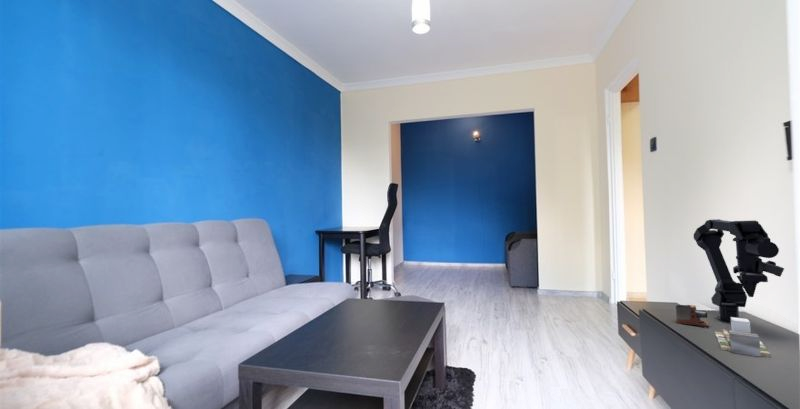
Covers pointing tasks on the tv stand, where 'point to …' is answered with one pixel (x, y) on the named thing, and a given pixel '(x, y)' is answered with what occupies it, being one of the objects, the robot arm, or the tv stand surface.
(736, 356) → the tv stand surface
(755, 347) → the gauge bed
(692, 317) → the electronic device
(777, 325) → the tv stand surface
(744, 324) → the white rectangular block
